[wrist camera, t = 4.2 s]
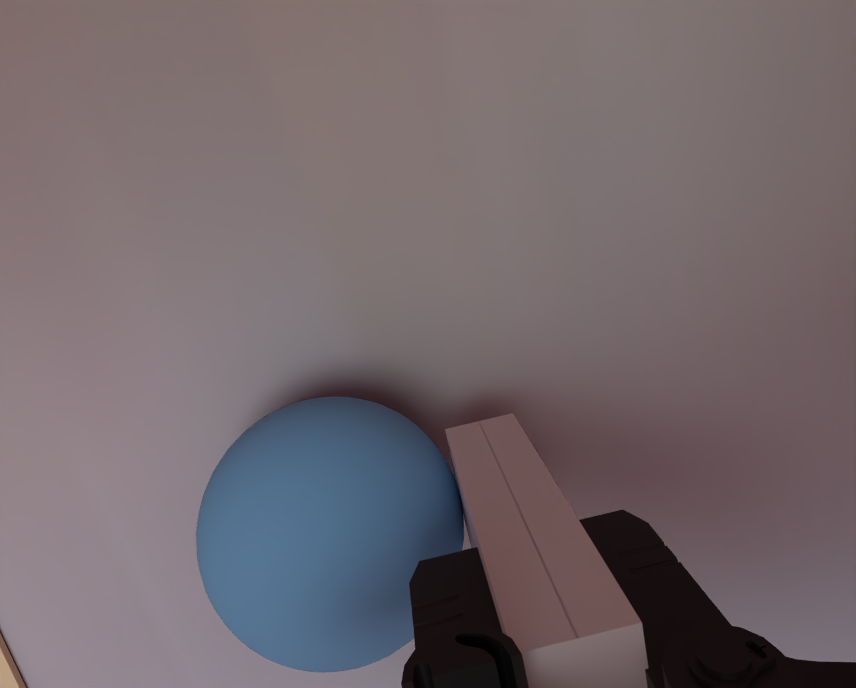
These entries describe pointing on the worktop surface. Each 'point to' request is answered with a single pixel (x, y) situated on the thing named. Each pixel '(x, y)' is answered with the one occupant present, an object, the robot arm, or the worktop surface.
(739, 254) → the worktop surface
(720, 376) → the worktop surface
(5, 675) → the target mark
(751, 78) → the worktop surface
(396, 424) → the ball
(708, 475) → the worktop surface
